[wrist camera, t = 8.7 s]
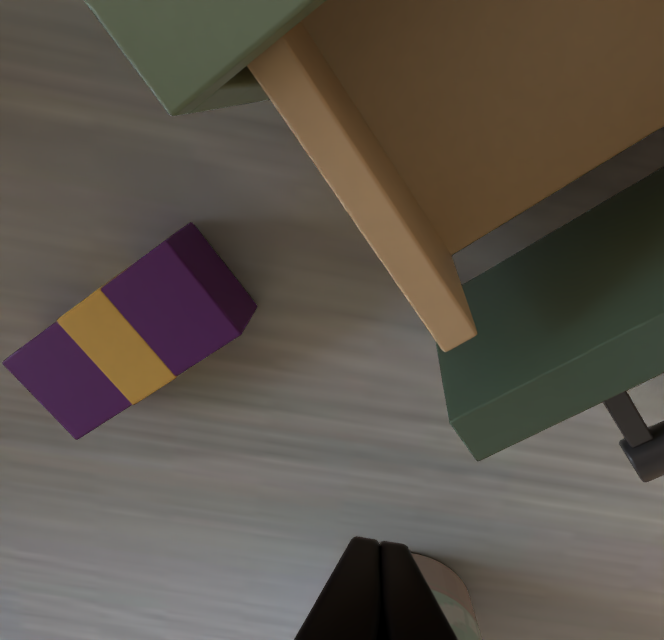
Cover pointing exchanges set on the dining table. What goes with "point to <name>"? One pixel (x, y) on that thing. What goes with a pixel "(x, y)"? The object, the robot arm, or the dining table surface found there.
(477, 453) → the drawer
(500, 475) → the dining table surface
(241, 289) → the chocolate bar
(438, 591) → the coffee cup
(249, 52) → the cabinet
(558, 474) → the dining table surface
